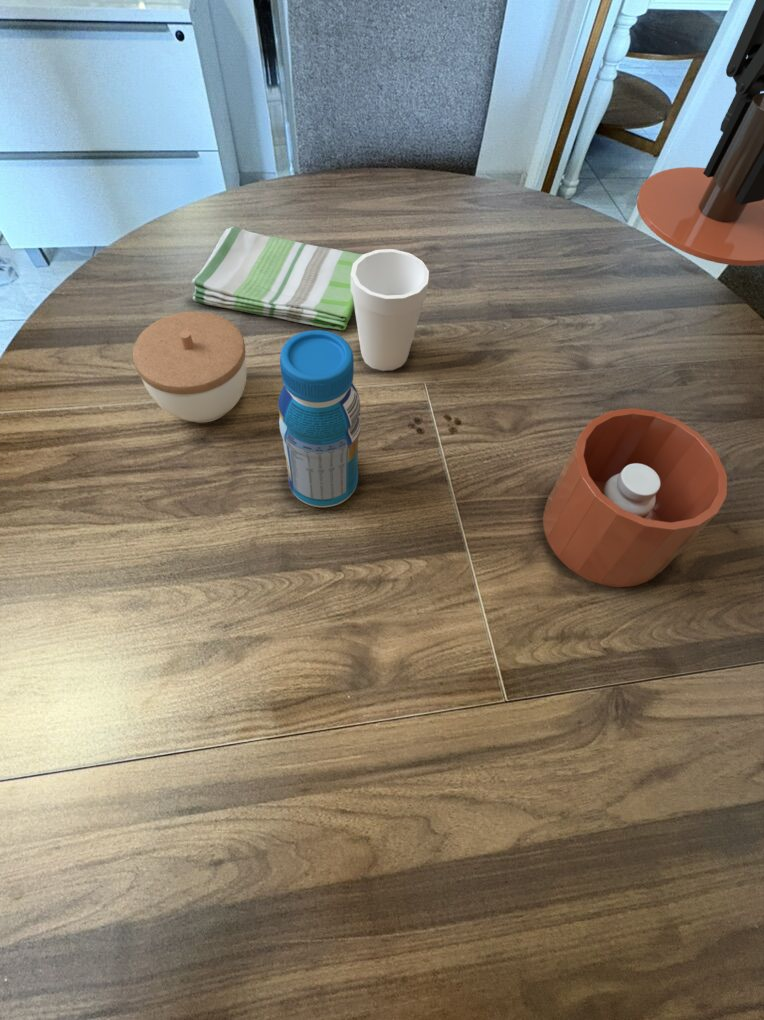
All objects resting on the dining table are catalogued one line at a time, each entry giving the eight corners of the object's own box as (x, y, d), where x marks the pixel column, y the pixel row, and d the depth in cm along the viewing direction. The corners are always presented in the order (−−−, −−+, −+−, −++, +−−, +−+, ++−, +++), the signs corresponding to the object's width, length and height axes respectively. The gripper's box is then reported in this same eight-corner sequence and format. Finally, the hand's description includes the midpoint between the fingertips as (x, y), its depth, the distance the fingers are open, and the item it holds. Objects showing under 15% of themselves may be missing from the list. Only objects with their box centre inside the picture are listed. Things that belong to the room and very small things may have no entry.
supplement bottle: (578, 536, 69) (608, 488, 61) (589, 500, 72) (619, 450, 64) (625, 554, 68) (662, 508, 60) (634, 517, 71) (671, 468, 63)
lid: (724, 168, 66) (784, 53, 57) (828, 253, 59) (916, 136, 50) (603, 192, 63) (647, 72, 54) (698, 286, 55) (768, 165, 46)
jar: (621, 463, 76) (665, 393, 66) (696, 562, 69) (759, 501, 58) (519, 498, 72) (548, 430, 62) (587, 606, 65) (634, 550, 55)
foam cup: (395, 389, 81) (403, 309, 70) (337, 361, 83) (335, 279, 72) (430, 348, 85) (442, 266, 75) (374, 322, 88) (378, 239, 77)
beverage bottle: (310, 522, 69) (298, 400, 52) (274, 471, 73) (253, 341, 56) (372, 490, 72) (381, 365, 55) (335, 442, 76) (332, 310, 59)
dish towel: (231, 236, 97) (227, 215, 94) (373, 261, 95) (374, 240, 92) (190, 306, 88) (185, 285, 85) (347, 335, 86) (347, 315, 83)
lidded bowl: (187, 355, 82) (166, 285, 73) (271, 383, 80) (261, 315, 71) (133, 420, 76) (103, 353, 67) (223, 453, 74) (205, 388, 65)
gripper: (792, -215, 41) (647, 146, 61) (1012, -144, 33) (762, 246, 53) (873, -215, 43) (707, 135, 63) (1102, -148, 35) (828, 231, 54)
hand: (732, 185), depth 58 cm, fingers closed on lid, 4 cm apart
